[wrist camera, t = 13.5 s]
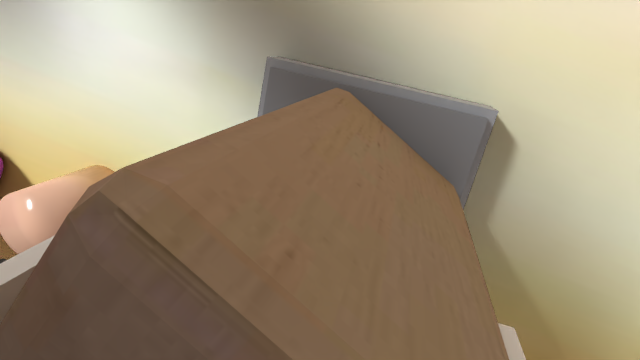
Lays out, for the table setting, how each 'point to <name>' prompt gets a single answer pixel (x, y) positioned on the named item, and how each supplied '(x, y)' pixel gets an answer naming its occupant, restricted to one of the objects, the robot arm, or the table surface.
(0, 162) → the toy camera
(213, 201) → the wooden block
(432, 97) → the stand
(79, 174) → the peach rounded capsule part
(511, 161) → the table surface
